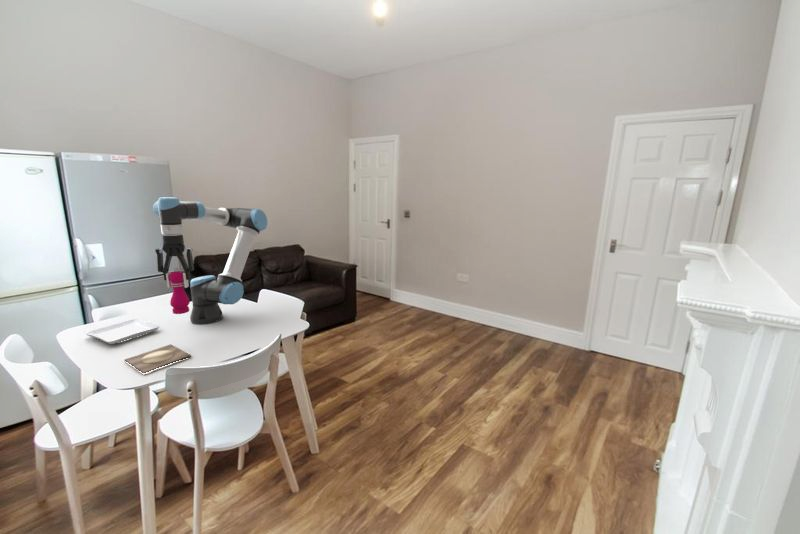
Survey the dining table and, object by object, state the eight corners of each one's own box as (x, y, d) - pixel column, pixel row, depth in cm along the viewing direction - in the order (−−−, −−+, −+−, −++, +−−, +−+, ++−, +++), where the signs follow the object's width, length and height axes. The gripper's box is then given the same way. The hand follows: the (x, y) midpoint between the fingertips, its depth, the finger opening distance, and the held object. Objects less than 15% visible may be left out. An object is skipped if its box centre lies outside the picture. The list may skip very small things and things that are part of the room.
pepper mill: (176, 315, 149) (171, 270, 145) (168, 312, 153) (162, 268, 149) (193, 311, 155) (189, 267, 151) (185, 308, 159) (180, 265, 155)
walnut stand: (124, 362, 139) (124, 358, 139) (171, 346, 153) (170, 343, 153) (143, 375, 130) (143, 371, 130) (191, 357, 144) (190, 354, 144)
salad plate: (136, 323, 177) (135, 317, 177) (161, 332, 168) (160, 325, 168) (85, 339, 159) (83, 332, 158) (110, 349, 150) (109, 342, 149)
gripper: (142, 235, 141) (149, 290, 146) (193, 235, 145) (199, 288, 150) (151, 233, 148) (158, 285, 153) (200, 233, 152) (204, 284, 157)
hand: (178, 287), depth 152 cm, fingers closed on pepper mill, 6 cm apart
